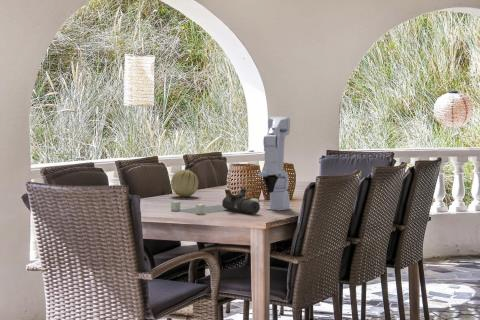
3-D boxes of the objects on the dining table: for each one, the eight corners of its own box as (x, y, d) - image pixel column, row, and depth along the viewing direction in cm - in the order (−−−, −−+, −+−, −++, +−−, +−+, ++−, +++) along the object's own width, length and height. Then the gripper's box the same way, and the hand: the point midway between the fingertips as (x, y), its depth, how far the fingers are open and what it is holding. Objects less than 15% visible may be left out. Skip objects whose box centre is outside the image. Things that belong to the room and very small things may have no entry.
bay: (229, 204, 410) (229, 195, 410) (258, 207, 397) (258, 199, 397) (171, 210, 380) (171, 201, 380) (200, 214, 368) (200, 205, 367)
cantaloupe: (166, 197, 436) (167, 169, 435) (176, 194, 450) (177, 167, 449) (192, 198, 432) (193, 170, 431) (202, 196, 446) (202, 168, 445)
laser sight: (246, 215, 367) (246, 192, 366) (217, 209, 385) (217, 188, 384) (263, 213, 372) (263, 191, 372) (234, 208, 391) (234, 187, 390)
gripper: (274, 160, 373) (273, 190, 374) (253, 162, 362) (253, 192, 363) (286, 161, 369) (285, 191, 369) (265, 162, 358) (265, 193, 359)
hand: (270, 192), depth 366 cm, fingers closed
